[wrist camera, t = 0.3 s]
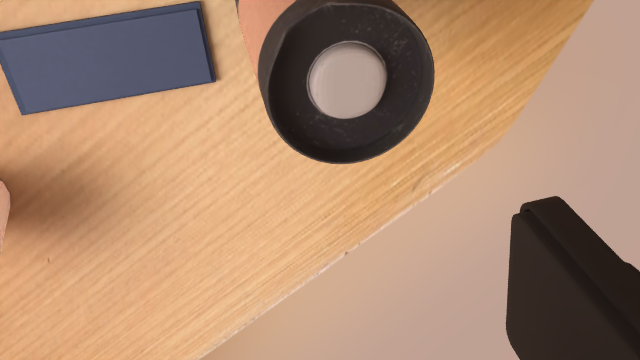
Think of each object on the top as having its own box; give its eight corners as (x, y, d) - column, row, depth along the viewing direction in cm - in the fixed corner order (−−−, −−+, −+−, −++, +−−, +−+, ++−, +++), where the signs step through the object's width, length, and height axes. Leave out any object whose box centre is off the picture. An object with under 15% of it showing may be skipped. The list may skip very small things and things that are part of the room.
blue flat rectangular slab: (-11, 33, 41) (-13, 36, 40) (199, 0, 42) (199, 2, 42) (22, 113, 44) (21, 117, 43) (215, 80, 45) (216, 83, 45)
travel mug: (321, 35, 45) (406, 176, 29) (218, 16, 43) (246, 157, 26) (348, -73, 42) (464, 18, 25) (237, -99, 39) (283, -19, 23)
